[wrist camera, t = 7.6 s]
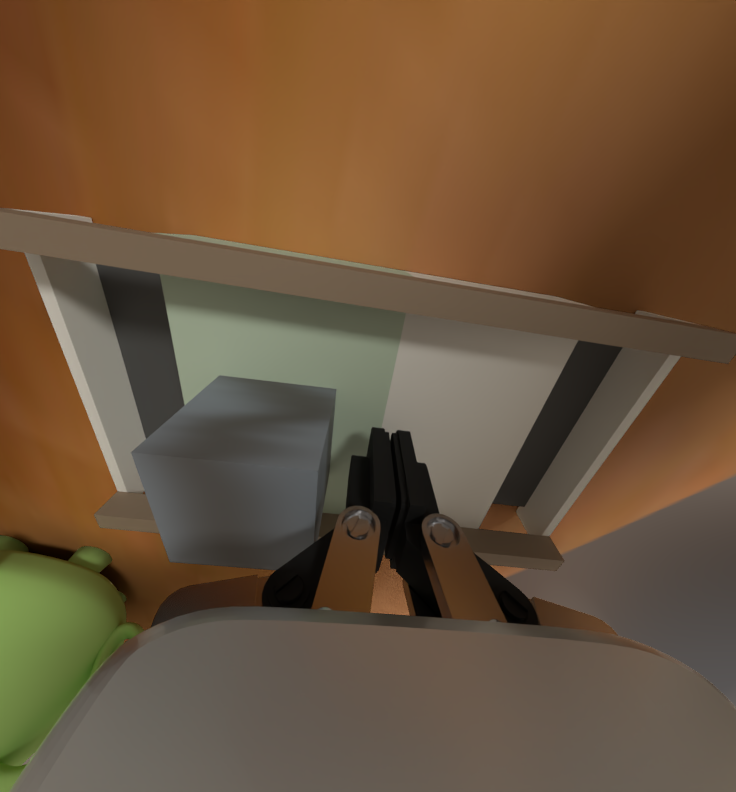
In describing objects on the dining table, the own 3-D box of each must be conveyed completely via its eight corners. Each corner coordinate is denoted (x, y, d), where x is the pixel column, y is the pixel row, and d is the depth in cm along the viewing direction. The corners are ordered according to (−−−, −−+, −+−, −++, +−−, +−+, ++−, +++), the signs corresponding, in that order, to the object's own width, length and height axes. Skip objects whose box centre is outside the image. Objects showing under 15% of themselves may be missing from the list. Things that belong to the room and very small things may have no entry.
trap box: (646, 312, 13) (750, 336, 9) (522, 512, 20) (556, 571, 16) (78, 215, 11) (-55, 202, 8) (152, 471, 18) (99, 527, 14)
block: (336, 388, 12) (318, 470, 8) (329, 473, 14) (312, 573, 10) (219, 375, 12) (130, 452, 7) (231, 463, 14) (169, 561, 10)
